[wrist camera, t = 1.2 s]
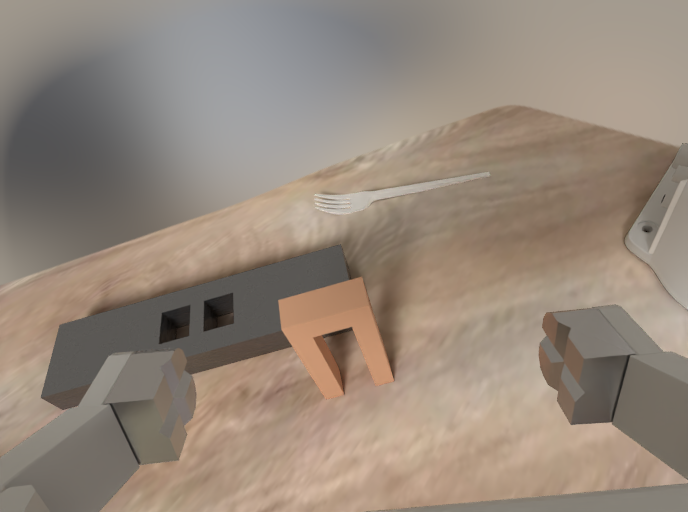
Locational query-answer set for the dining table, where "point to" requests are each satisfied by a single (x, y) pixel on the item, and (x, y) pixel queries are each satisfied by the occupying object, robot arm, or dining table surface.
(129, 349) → the rail
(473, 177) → the fork
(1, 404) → the dining table surface
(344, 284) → the clip
